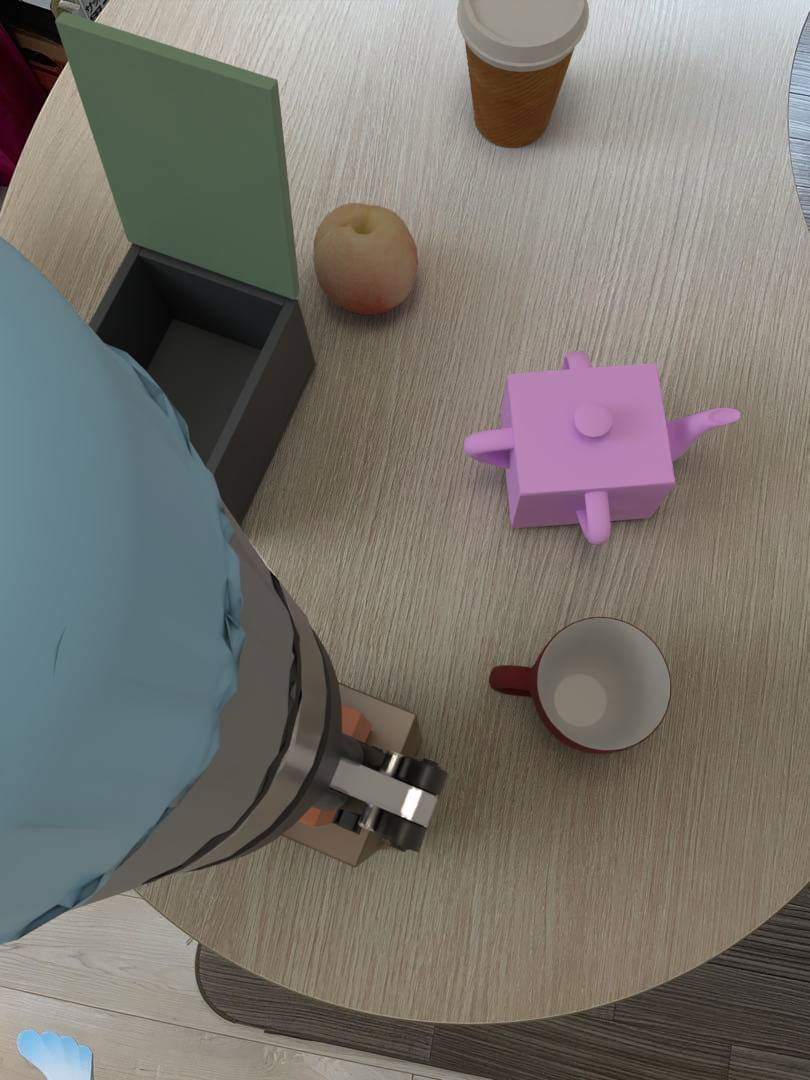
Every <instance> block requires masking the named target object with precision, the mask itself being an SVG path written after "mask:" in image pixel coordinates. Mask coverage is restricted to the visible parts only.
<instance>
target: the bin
mask: <svg viewBox="0 0 810 1080" xmlns="http://www.w3.org/2000/svg"><path fill="white" fill-rule="evenodd" d="M120 263H121V264H120V265H119V267H118V269H117V271H116V272H115V274H114V276H113V278H112V280H111V281H110V284H109V285H108V288H107V289H106V291H105V293H104V295H103V296H102V299H101V300H100V302H99V304H98V306H97V308H96V310H95V311H94V313H93V315H92V317H91V319H90V321H89V323H87V324H88V325H89V326H90V328H91V329H92V330H93V331H94V332H95V333H96V335H97V336H98V337H99V338H100V339H101V340H102V342H103V343H105V344H107V345H110V346H112V347H115V348H117V349H120V350H122V351H125V352H127V353H128V354H129V355H130V356H131V357H132V358H133V359H134V360H135V361H136V362H137V363H138V364H139V365H140V366H141V367H142V368H143V369H144V370H145V371H146V372H147V373H148V374H149V375H150V376H151V378H152V379H153V380H154V381H155V382H156V384H157V385H158V386H159V387H160V388H161V390H162V391H163V392H164V393H165V395H166V396H167V397H168V399H169V400H170V401H171V403H172V404H173V405H174V407H175V408H176V409H177V411H178V412H179V413H180V415H181V416H182V417H183V419H184V420H185V422H186V424H187V426H188V431H189V440H190V442H191V444H192V445H193V447H194V449H195V450H196V452H197V454H198V455H199V457H200V459H201V460H202V462H203V464H204V465H205V467H206V468H207V469H208V470H209V471H210V472H211V473H212V474H213V475H214V478H215V481H216V484H217V487H218V491H219V494H220V497H221V499H222V501H223V502H224V504H225V505H226V507H227V508H228V510H229V511H230V513H231V514H232V516H233V517H234V519H235V520H236V522H237V523H238V525H239V526H240V527H241V526H242V524H243V522H244V519H245V518H246V516H247V513H248V511H249V509H250V507H251V505H252V503H253V501H254V498H255V496H256V495H257V492H258V490H259V488H260V486H261V484H262V481H263V479H264V477H265V475H266V473H267V471H268V468H269V466H270V464H271V462H272V460H273V458H274V456H275V453H276V451H277V449H278V447H279V444H280V443H281V440H282V438H283V436H284V434H285V432H286V430H287V428H288V425H289V423H290V421H291V420H292V417H293V415H294V413H295V411H296V409H297V406H298V404H299V402H300V400H301V399H302V396H303V394H304V392H305V389H306V388H307V385H308V383H309V381H310V378H311V376H312V375H313V372H314V370H315V368H316V366H317V362H316V359H315V355H314V352H313V348H312V345H311V342H310V338H309V333H308V331H307V328H306V324H305V319H304V316H303V312H302V309H301V305H300V301H299V300H298V299H297V298H296V299H295V300H293V299H290V298H288V297H285V296H282V295H279V294H276V293H273V292H271V291H268V290H265V289H262V288H259V287H256V286H253V285H251V284H248V283H245V282H242V281H239V280H236V279H234V278H231V277H228V276H225V275H222V274H219V273H217V272H214V271H211V270H208V269H205V268H202V267H199V266H197V265H194V264H191V263H188V262H185V261H182V260H180V259H177V258H174V257H171V256H168V255H165V254H163V253H160V252H157V251H154V250H151V249H148V248H145V247H143V246H140V245H137V244H134V243H131V245H130V246H129V249H128V251H127V252H126V254H125V256H124V258H123V260H122V262H120Z"/></svg>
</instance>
